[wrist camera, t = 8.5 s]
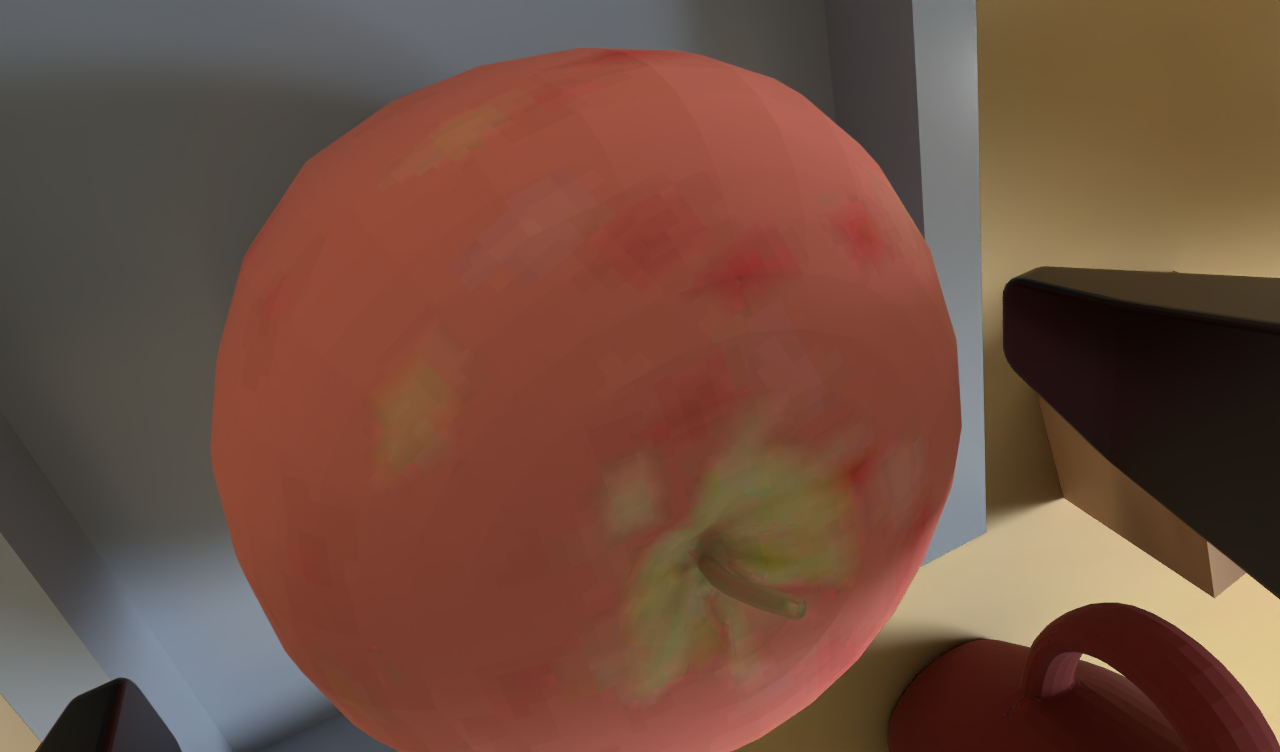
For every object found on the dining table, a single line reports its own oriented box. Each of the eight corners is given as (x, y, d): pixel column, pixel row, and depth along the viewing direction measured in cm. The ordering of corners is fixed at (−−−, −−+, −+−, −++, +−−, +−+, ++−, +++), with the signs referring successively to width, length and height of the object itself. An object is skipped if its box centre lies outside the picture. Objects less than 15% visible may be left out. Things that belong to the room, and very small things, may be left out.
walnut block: (1170, 269, 21) (1359, 339, 17) (1188, 398, 23) (1358, 481, 20) (1029, 375, 20) (1197, 467, 17) (1061, 496, 22) (1214, 598, 19)
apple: (120, 42, 10) (40, 283, 4) (713, -21, 13) (1276, 63, 6) (276, 572, 14) (373, 1169, 7) (721, 442, 16) (1088, 804, 10)
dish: (826, -401, 12) (967, -465, 10) (896, 462, 19) (986, 532, 17) (-490, -136, 8) (-710, -146, 6) (203, 800, 16) (209, 940, 14)
